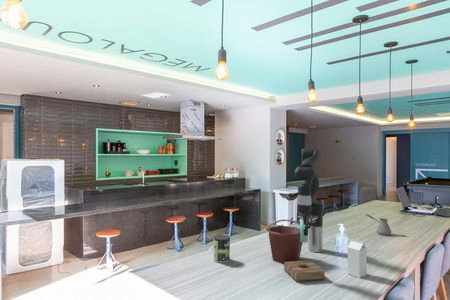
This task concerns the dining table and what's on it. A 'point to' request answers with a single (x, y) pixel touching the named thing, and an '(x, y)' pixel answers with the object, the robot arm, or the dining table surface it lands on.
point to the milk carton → (357, 258)
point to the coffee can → (221, 248)
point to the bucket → (284, 242)
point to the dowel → (302, 232)
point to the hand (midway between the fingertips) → (304, 234)
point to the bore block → (304, 271)
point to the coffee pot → (382, 227)
